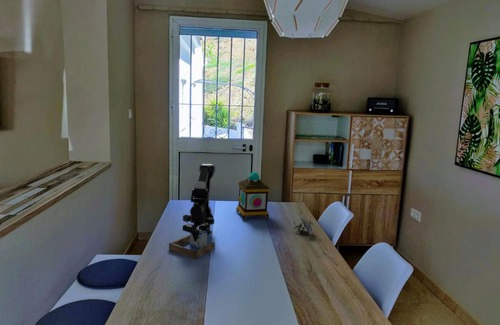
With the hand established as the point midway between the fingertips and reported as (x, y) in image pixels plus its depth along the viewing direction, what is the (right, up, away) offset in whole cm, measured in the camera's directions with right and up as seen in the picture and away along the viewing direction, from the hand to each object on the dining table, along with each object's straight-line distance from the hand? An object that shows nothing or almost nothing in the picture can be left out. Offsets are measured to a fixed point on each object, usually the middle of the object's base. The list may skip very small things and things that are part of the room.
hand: (198, 240), depth 188 cm
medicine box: (0, -4, +1) cm, 4 cm away
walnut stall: (-2, -4, -3) cm, 5 cm away
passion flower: (+58, -2, +27) cm, 64 cm away
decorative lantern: (+28, +4, +53) cm, 60 cm away
